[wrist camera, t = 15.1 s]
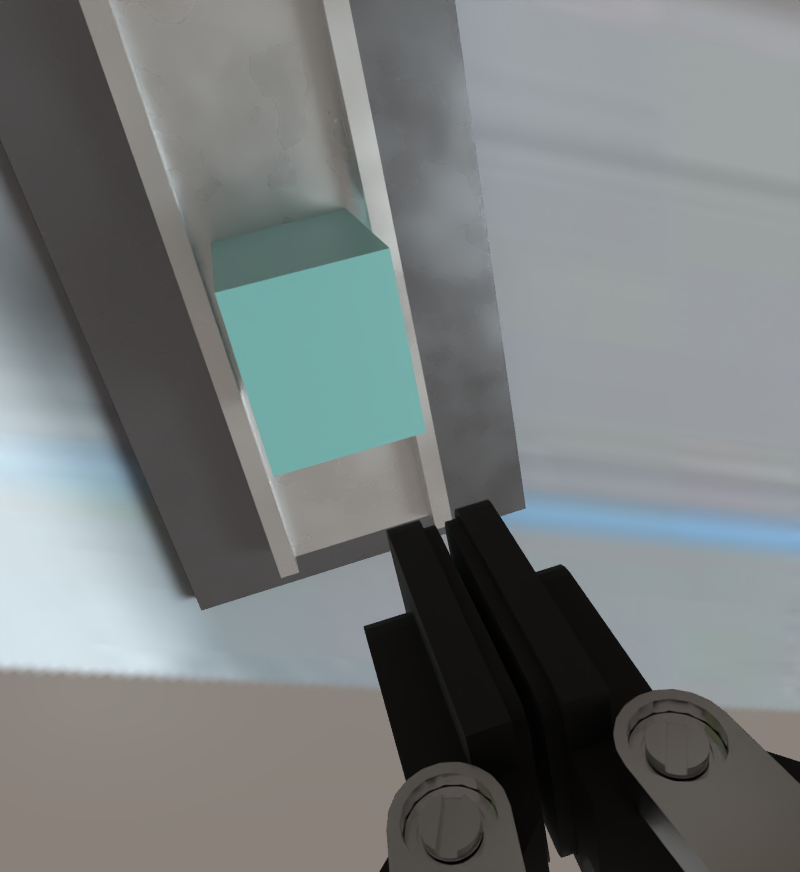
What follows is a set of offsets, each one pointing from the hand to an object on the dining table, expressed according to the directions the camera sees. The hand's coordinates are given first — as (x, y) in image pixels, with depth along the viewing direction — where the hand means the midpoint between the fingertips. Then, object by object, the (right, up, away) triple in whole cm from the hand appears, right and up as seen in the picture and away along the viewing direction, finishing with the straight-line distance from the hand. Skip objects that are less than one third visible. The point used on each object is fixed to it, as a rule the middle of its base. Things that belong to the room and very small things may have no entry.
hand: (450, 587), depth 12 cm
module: (-5, +7, +16) cm, 19 cm away
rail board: (-5, +8, +18) cm, 20 cm away
